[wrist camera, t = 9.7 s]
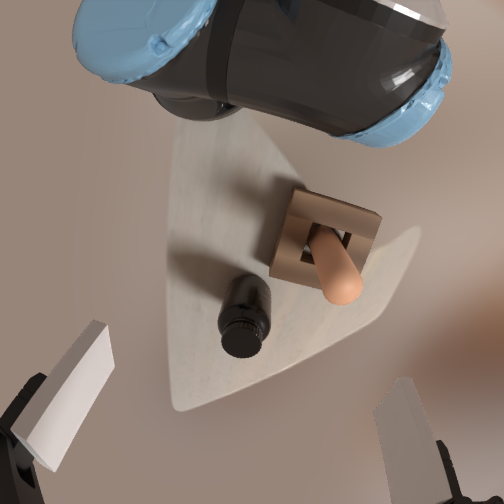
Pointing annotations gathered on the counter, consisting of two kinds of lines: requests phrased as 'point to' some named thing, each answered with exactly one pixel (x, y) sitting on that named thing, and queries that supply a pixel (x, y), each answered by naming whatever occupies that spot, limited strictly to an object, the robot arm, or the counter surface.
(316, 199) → the socket block
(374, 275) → the counter surface
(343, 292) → the dowel
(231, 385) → the counter surface
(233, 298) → the supplement bottle
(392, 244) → the counter surface
